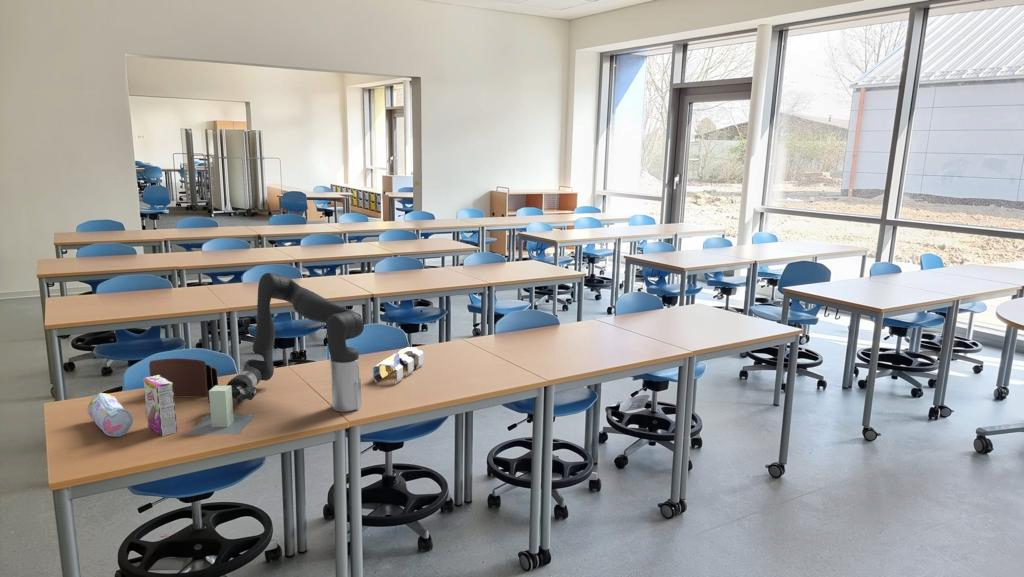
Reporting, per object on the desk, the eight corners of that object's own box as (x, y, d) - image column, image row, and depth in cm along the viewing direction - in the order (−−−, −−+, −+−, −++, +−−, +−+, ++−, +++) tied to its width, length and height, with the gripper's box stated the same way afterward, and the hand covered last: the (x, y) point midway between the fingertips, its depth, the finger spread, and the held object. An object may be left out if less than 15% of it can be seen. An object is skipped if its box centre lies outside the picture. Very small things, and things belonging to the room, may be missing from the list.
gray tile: (256, 415, 217) (256, 414, 217) (239, 434, 201) (239, 434, 201) (207, 415, 216) (207, 414, 216) (186, 435, 200) (186, 434, 200)
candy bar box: (147, 427, 206) (142, 377, 203) (163, 423, 209) (159, 374, 206) (161, 437, 199) (156, 386, 195) (178, 432, 202) (173, 382, 199)
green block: (233, 421, 211) (231, 385, 209) (227, 427, 206) (225, 390, 204) (218, 421, 211) (215, 385, 209) (211, 427, 206) (208, 390, 204)
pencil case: (88, 421, 210) (84, 393, 208) (118, 415, 216) (115, 387, 214) (103, 442, 195) (99, 412, 193) (135, 434, 201) (132, 405, 199)
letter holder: (207, 397, 233) (204, 359, 231) (150, 397, 233) (147, 359, 230) (218, 388, 243) (216, 351, 240) (164, 387, 242) (161, 351, 240)
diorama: (397, 385, 249) (396, 352, 246) (372, 382, 251) (372, 350, 249) (423, 366, 272) (423, 336, 270) (401, 364, 275) (400, 334, 272)
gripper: (220, 374, 224) (200, 390, 208) (262, 374, 225) (245, 390, 209) (222, 395, 226) (202, 412, 210) (263, 395, 226) (247, 412, 210)
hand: (223, 401), depth 209 cm, fingers open, 8 cm apart
